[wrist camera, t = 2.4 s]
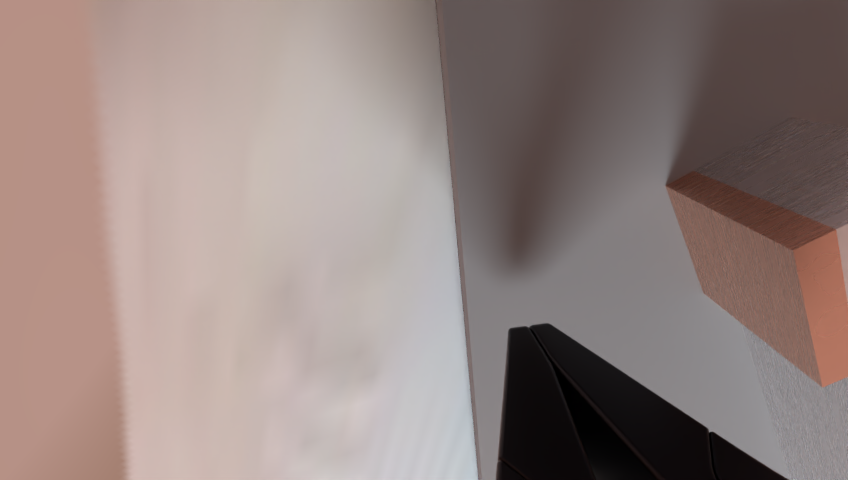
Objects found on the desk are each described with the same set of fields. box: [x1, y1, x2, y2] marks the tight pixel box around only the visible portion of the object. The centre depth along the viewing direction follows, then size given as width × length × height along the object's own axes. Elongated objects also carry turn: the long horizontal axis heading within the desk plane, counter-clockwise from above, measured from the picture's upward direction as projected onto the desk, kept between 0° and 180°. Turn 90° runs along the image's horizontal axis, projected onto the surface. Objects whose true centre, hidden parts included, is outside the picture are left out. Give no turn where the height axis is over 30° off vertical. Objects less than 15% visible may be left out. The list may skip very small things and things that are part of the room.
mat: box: [436, 0, 848, 480], centre depth 12 cm, size 22×20×1 cm
